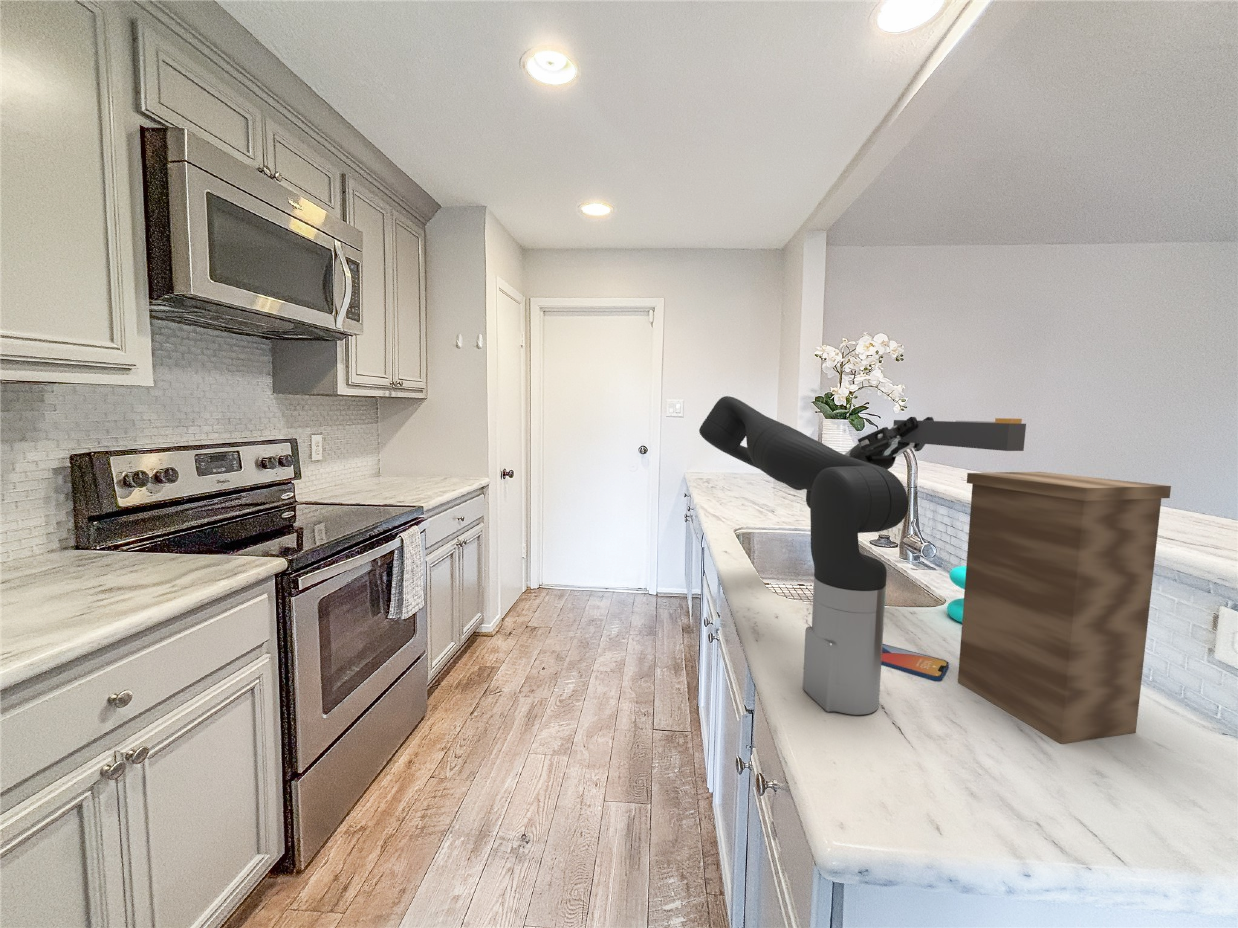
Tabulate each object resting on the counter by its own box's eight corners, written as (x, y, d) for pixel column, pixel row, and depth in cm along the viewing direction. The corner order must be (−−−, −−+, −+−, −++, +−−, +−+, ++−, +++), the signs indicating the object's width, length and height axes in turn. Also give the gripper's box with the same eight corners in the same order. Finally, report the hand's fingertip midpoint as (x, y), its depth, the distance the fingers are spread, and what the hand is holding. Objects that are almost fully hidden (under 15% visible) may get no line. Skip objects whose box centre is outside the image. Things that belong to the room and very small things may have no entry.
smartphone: (853, 641, 93) (853, 635, 93) (950, 667, 83) (950, 661, 83) (838, 655, 88) (838, 649, 88) (940, 685, 78) (940, 678, 77)
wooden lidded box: (1061, 746, 63) (1086, 488, 60) (952, 680, 78) (967, 472, 75) (1143, 734, 65) (1171, 485, 62) (1021, 672, 81) (1039, 471, 78)
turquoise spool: (1011, 583, 94) (946, 572, 100) (1006, 635, 95) (943, 621, 101) (1012, 570, 102) (953, 561, 108) (1008, 619, 102) (949, 607, 109)
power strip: (1006, 450, 75) (1009, 418, 74) (892, 441, 97) (894, 416, 96) (1023, 450, 75) (1026, 418, 75) (906, 441, 98) (907, 416, 97)
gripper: (830, 445, 107) (883, 402, 91) (888, 445, 110) (950, 403, 94) (839, 478, 104) (896, 439, 88) (899, 477, 107) (964, 440, 91)
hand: (923, 421), depth 91 cm, fingers closed on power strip, 3 cm apart
